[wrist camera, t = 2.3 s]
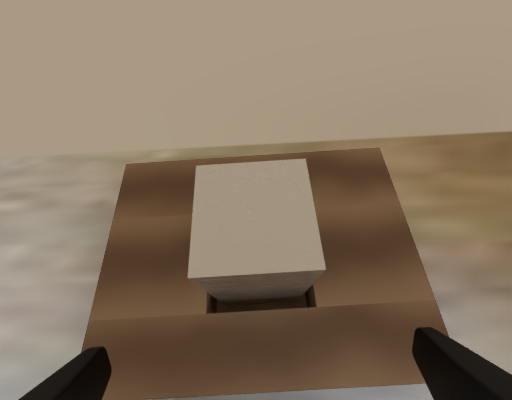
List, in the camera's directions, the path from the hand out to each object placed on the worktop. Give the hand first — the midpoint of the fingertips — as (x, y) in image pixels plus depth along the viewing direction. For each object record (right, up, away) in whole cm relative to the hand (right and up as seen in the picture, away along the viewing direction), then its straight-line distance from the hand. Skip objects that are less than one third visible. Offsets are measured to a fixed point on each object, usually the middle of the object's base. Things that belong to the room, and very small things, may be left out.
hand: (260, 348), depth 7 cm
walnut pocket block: (0, -2, +13) cm, 14 cm away
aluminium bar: (0, -1, +12) cm, 12 cm away
